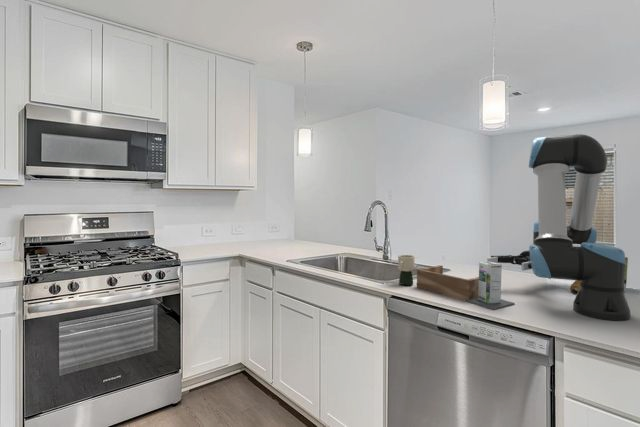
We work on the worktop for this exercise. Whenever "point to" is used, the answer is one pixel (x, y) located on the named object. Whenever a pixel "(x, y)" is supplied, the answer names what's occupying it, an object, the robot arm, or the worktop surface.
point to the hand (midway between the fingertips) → (504, 264)
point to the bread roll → (575, 287)
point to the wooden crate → (447, 283)
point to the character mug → (406, 269)
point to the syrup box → (489, 282)
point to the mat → (491, 304)
